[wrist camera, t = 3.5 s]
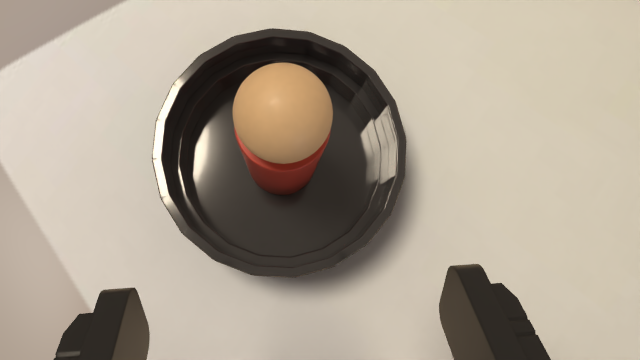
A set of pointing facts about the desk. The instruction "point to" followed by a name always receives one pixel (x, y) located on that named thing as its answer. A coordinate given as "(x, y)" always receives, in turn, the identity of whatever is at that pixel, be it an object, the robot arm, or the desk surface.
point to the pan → (233, 174)
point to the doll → (282, 125)
